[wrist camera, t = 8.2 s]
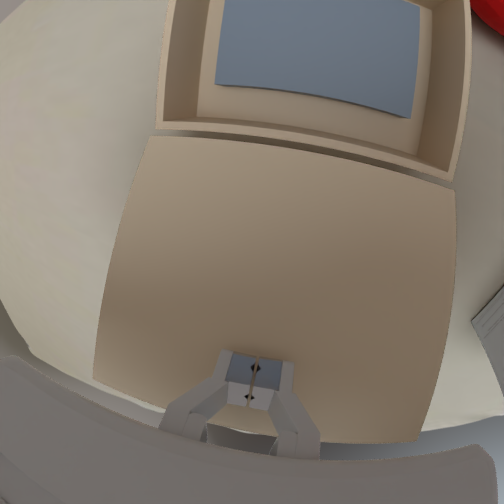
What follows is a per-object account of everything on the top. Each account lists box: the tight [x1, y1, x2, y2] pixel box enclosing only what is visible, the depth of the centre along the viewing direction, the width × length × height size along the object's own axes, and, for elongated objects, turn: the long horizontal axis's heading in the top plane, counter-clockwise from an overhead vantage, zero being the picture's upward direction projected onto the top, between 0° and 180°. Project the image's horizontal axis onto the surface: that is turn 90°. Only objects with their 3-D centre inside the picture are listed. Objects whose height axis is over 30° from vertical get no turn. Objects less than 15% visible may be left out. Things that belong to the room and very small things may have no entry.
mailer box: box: [155, 0, 472, 183], centre depth 13 cm, size 18×14×6 cm
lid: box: [93, 136, 456, 443], centre depth 13 cm, size 18×14×1 cm
